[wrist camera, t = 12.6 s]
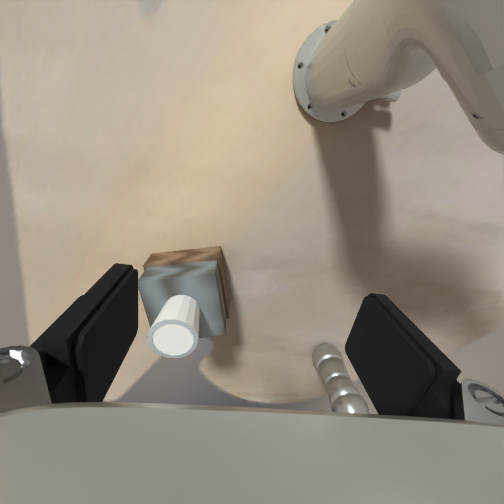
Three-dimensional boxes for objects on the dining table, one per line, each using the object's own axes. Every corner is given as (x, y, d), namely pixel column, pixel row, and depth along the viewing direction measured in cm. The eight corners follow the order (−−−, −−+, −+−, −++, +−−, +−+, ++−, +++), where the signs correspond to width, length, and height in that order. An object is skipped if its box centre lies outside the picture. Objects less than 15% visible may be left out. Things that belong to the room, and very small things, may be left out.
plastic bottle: (316, 337, 58) (354, 425, 40) (342, 342, 60) (390, 431, 41) (305, 357, 61) (337, 450, 42) (330, 362, 62) (371, 454, 44)
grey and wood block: (220, 246, 48) (217, 270, 39) (229, 303, 53) (228, 336, 44) (151, 253, 48) (132, 280, 38) (167, 310, 53) (153, 345, 43)
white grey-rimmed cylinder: (190, 332, 43) (183, 365, 37) (153, 315, 41) (138, 346, 35) (211, 303, 41) (207, 333, 35) (173, 284, 39) (161, 311, 33)
